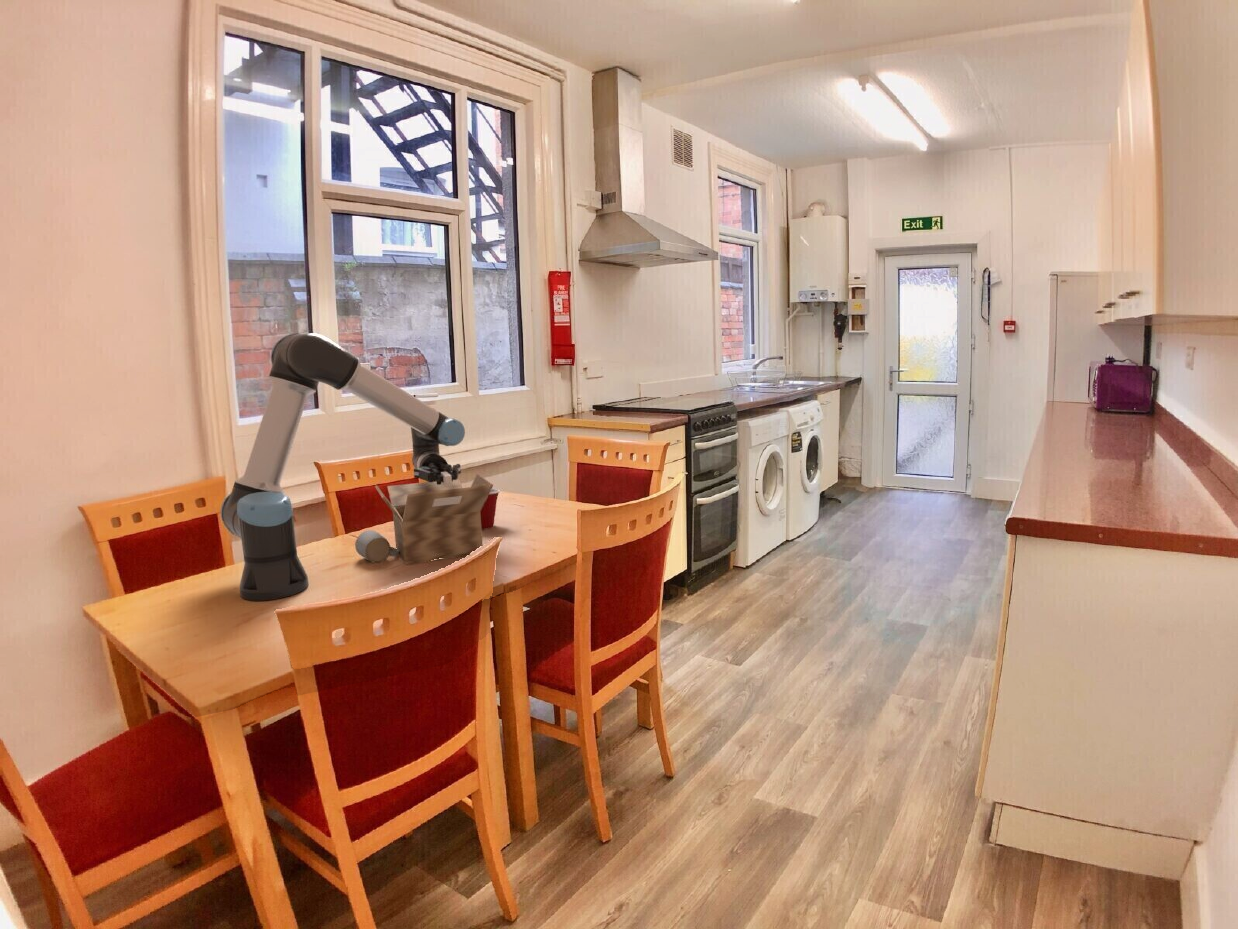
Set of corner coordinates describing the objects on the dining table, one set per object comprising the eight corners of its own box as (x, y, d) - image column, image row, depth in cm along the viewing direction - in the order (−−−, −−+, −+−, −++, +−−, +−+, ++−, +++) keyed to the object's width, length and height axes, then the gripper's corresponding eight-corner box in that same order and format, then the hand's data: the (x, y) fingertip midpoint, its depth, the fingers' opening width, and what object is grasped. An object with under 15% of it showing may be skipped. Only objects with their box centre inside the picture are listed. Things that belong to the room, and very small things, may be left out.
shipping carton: (388, 567, 193) (382, 497, 190) (377, 543, 216) (371, 480, 213) (498, 551, 205) (493, 484, 201) (476, 529, 228) (472, 469, 225)
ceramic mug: (366, 566, 195) (364, 538, 194) (355, 559, 201) (353, 532, 200) (404, 558, 201) (403, 531, 200) (393, 552, 208) (391, 525, 206)
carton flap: (402, 519, 193) (402, 522, 192) (407, 494, 178) (408, 497, 178) (479, 509, 201) (479, 512, 200) (490, 484, 186) (490, 487, 186)
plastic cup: (509, 524, 233) (507, 487, 231) (485, 532, 224) (483, 494, 222) (483, 520, 239) (481, 484, 236) (460, 528, 230) (457, 491, 228)
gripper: (456, 477, 210) (475, 492, 189) (410, 482, 205) (423, 498, 184) (454, 451, 209) (473, 464, 188) (407, 455, 204) (421, 469, 183)
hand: (448, 481), depth 186 cm, fingers closed
